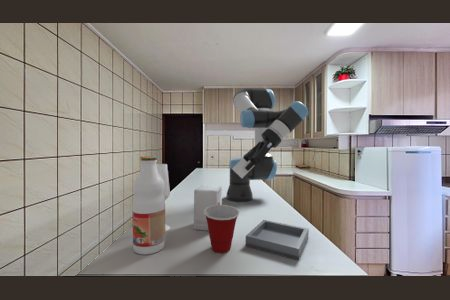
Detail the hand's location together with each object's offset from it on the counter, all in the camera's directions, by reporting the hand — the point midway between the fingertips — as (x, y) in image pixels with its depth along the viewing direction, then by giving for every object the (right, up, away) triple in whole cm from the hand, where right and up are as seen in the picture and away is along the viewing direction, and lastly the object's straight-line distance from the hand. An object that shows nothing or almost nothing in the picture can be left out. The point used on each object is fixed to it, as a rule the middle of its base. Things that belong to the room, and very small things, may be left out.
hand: (236, 173), depth 82 cm
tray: (+13, -21, -12) cm, 28 cm away
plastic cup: (-5, -21, -17) cm, 28 cm away
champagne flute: (-28, -21, -2) cm, 35 cm away
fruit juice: (-28, -21, -16) cm, 38 cm away
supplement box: (-11, -21, 0) cm, 23 cm away
